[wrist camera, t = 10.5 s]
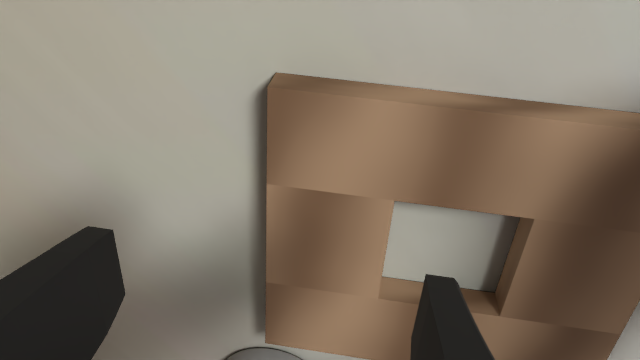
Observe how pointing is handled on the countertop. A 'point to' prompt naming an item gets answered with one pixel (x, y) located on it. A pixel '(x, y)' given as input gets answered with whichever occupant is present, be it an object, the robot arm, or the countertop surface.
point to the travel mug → (262, 355)
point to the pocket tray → (452, 192)
